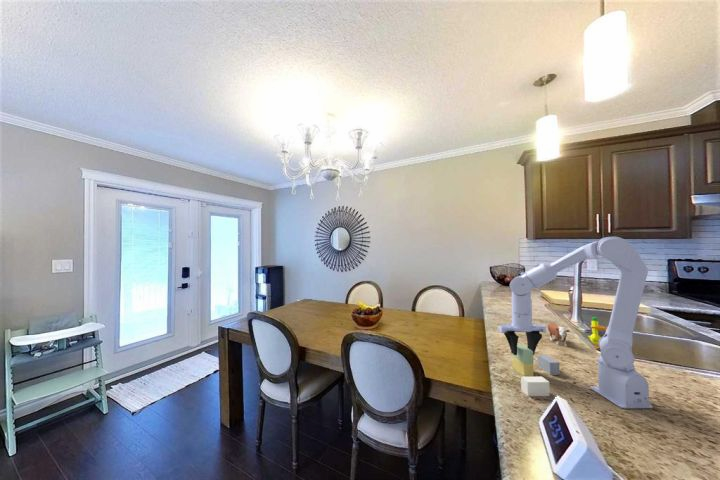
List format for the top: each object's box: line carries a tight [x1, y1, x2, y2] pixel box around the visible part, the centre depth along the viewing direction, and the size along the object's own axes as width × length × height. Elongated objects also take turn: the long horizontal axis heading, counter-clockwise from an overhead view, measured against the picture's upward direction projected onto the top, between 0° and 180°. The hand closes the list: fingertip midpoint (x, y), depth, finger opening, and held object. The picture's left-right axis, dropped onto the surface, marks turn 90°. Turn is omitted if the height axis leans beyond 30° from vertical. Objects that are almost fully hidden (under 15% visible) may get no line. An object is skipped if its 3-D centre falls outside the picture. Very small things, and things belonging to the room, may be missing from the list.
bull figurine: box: [547, 322, 570, 348], centre depth 108 cm, size 4×13×8 cm, turn 163°
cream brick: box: [520, 376, 550, 397], centre depth 73 cm, size 6×3×4 cm, turn 89°
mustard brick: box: [512, 355, 535, 377], centre depth 85 cm, size 6×3×4 cm, turn 179°
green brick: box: [512, 343, 534, 365], centre depth 85 cm, size 6×3×4 cm, turn 179°
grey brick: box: [536, 354, 560, 376], centre depth 86 cm, size 6×3×4 cm, turn 179°
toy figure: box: [587, 316, 608, 349], centre depth 103 cm, size 7×4×12 cm, turn 43°
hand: (522, 353), depth 85 cm, fingers open, 5 cm apart
